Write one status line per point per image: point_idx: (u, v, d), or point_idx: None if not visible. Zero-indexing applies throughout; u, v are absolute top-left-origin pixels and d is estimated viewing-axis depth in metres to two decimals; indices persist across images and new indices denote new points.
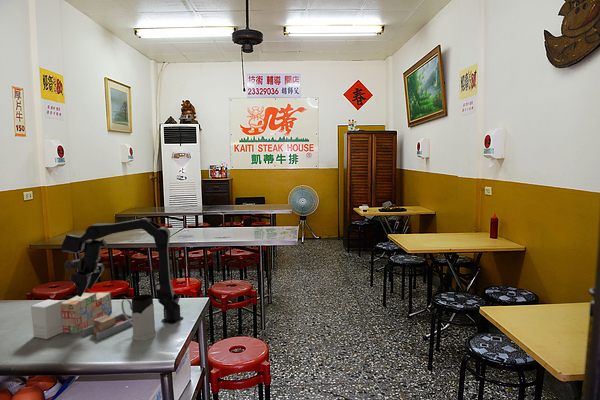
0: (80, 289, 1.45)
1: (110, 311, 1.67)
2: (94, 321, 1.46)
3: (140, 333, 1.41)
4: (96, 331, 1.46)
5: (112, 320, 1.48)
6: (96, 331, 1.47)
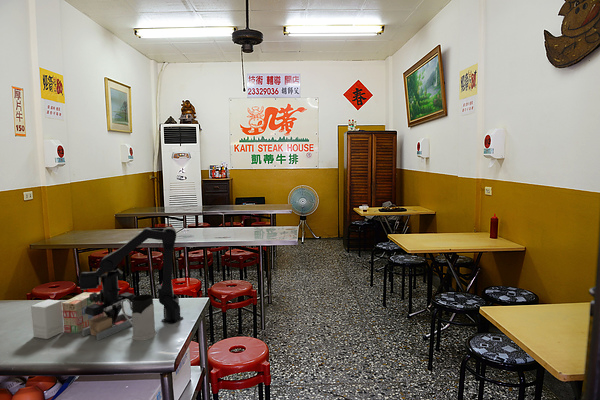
0: (110, 317, 1.50)
1: None
2: (91, 322, 1.45)
3: (140, 333, 1.41)
4: (93, 332, 1.45)
5: (109, 321, 1.47)
6: (93, 332, 1.45)
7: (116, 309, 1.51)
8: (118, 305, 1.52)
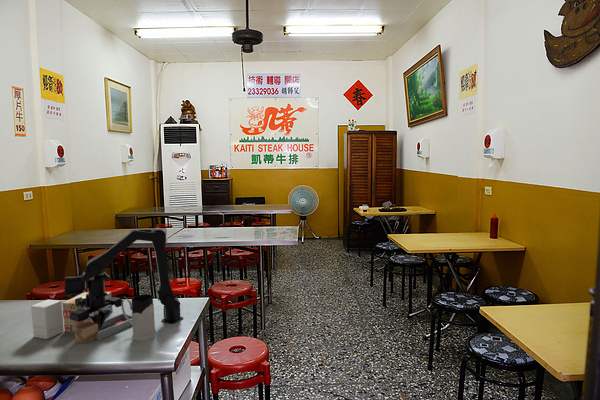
0: None
1: (111, 310, 1.68)
2: (76, 328, 1.40)
3: (140, 333, 1.41)
4: (78, 338, 1.40)
5: (95, 327, 1.42)
6: (78, 338, 1.40)
7: (103, 314, 1.45)
8: (105, 310, 1.47)
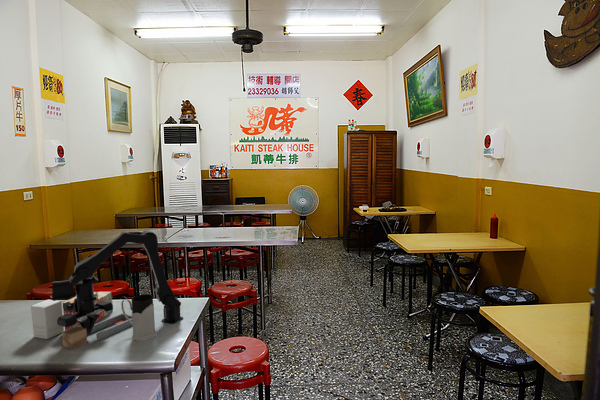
0: None
1: (111, 310, 1.68)
2: (63, 333, 1.36)
3: (140, 333, 1.41)
4: (65, 344, 1.36)
5: (83, 332, 1.38)
6: (65, 344, 1.36)
7: (91, 319, 1.41)
8: (94, 315, 1.43)
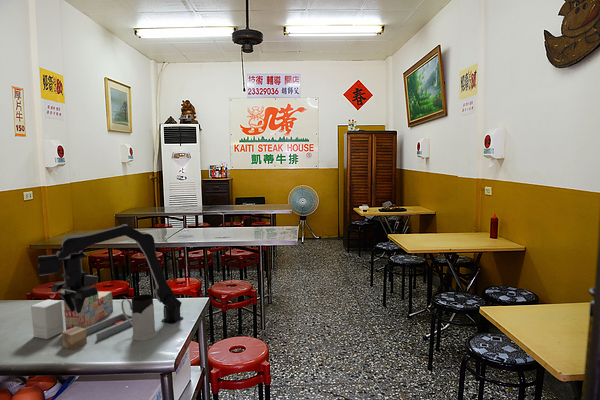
0: None
1: (111, 310, 1.68)
2: (63, 333, 1.36)
3: (140, 333, 1.41)
4: (65, 344, 1.36)
5: (83, 332, 1.38)
6: (65, 344, 1.36)
7: None
8: None
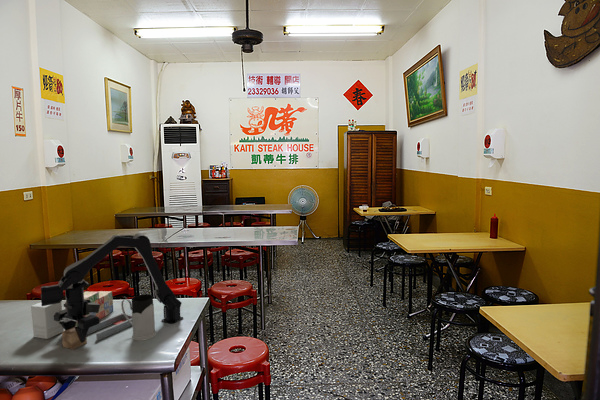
0: None
1: (112, 309, 1.69)
2: (63, 333, 1.36)
3: (140, 333, 1.41)
4: (65, 344, 1.36)
5: None
6: (65, 344, 1.36)
7: None
8: None
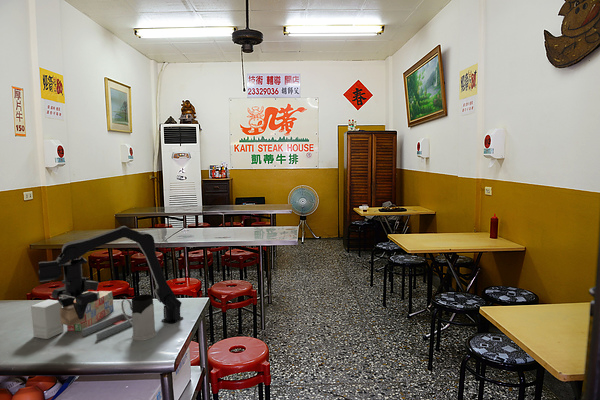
0: None
1: (112, 309, 1.69)
2: (61, 310, 1.35)
3: (140, 333, 1.41)
4: (63, 321, 1.35)
5: None
6: (63, 320, 1.35)
7: None
8: None
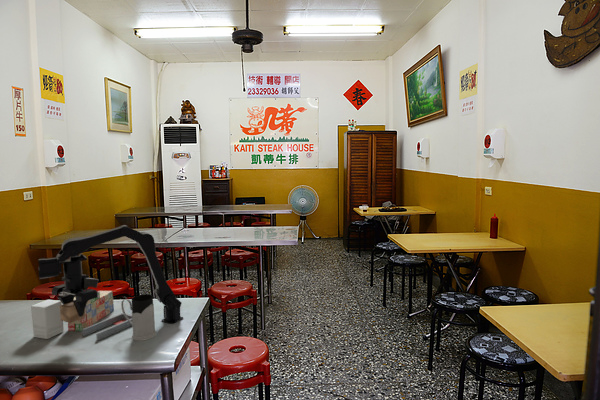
0: None
1: (112, 309, 1.70)
2: (61, 307, 1.35)
3: (140, 333, 1.41)
4: (63, 318, 1.35)
5: None
6: (63, 317, 1.35)
7: None
8: None
